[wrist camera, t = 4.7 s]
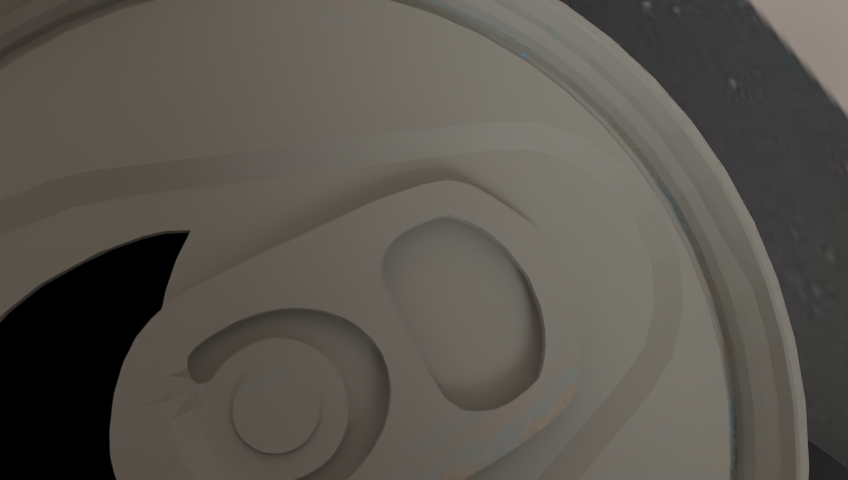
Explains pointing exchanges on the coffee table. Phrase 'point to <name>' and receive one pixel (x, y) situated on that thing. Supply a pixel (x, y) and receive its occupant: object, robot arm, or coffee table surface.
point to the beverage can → (372, 252)
